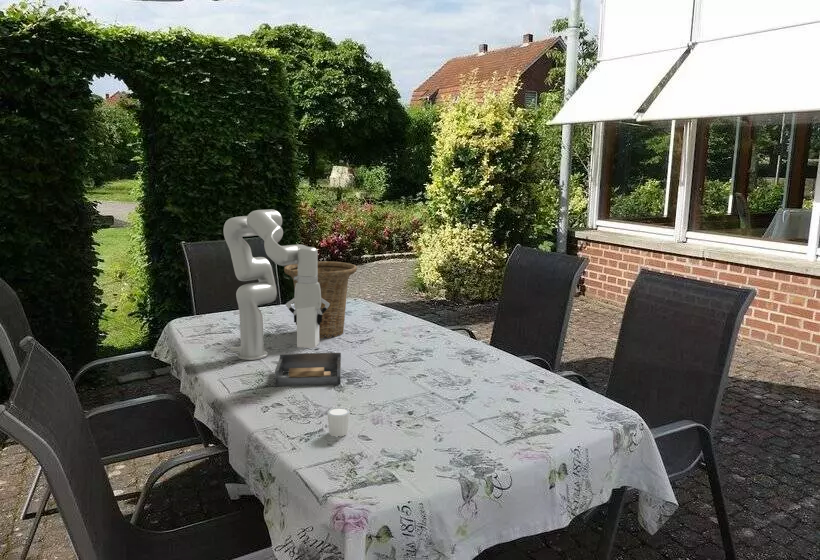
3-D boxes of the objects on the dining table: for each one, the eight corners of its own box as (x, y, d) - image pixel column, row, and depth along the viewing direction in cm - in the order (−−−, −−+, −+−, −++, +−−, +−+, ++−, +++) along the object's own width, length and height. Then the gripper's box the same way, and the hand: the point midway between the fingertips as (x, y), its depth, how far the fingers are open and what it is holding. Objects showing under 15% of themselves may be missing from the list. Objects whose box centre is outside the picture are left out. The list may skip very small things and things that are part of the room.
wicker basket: (371, 330, 312) (371, 265, 307) (326, 346, 283) (325, 274, 278) (318, 321, 331) (316, 259, 325) (270, 335, 302) (268, 267, 296)
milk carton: (315, 348, 238) (314, 299, 235) (296, 347, 239) (296, 299, 235) (319, 343, 245) (319, 295, 242) (301, 342, 246) (301, 295, 242)
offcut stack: (287, 385, 233) (286, 371, 232) (288, 381, 237) (287, 367, 236) (330, 384, 235) (330, 370, 234) (330, 380, 239) (330, 366, 238)
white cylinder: (328, 428, 194) (327, 407, 192) (350, 428, 194) (349, 407, 193) (327, 438, 187) (326, 416, 186) (349, 437, 187) (349, 415, 186)
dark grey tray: (275, 386, 231) (274, 368, 230) (280, 370, 249) (280, 353, 248) (340, 384, 234) (340, 366, 232) (340, 369, 251) (340, 352, 250)
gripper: (283, 281, 233) (284, 326, 236) (330, 281, 234) (330, 326, 238) (285, 277, 240) (286, 321, 243) (331, 277, 242) (331, 321, 245)
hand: (308, 324), depth 240 cm, fingers closed on milk carton, 8 cm apart
